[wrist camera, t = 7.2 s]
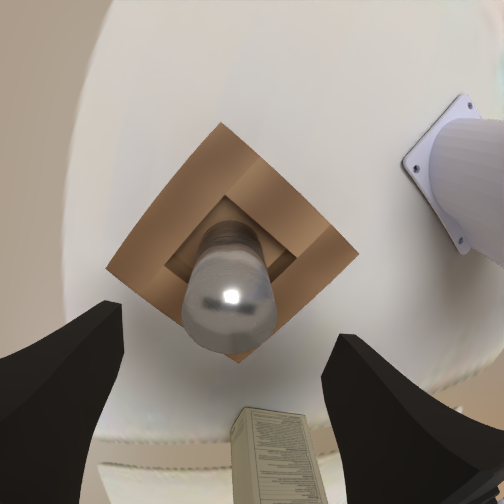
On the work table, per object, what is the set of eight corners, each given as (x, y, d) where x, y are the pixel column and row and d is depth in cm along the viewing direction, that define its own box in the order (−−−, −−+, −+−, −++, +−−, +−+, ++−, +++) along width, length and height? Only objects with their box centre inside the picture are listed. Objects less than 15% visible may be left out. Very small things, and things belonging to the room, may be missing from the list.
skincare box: (229, 430, 25) (231, 544, 14) (244, 404, 23) (252, 533, 12) (289, 438, 26) (306, 542, 15) (309, 413, 25) (336, 529, 13)
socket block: (344, 238, 18) (359, 253, 16) (238, 339, 21) (238, 363, 18) (223, 124, 15) (221, 122, 13) (119, 252, 18) (105, 268, 15)
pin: (265, 224, 17) (284, 279, 11) (257, 280, 18) (268, 356, 12) (202, 217, 17) (182, 269, 10) (197, 274, 18) (181, 349, 12)
